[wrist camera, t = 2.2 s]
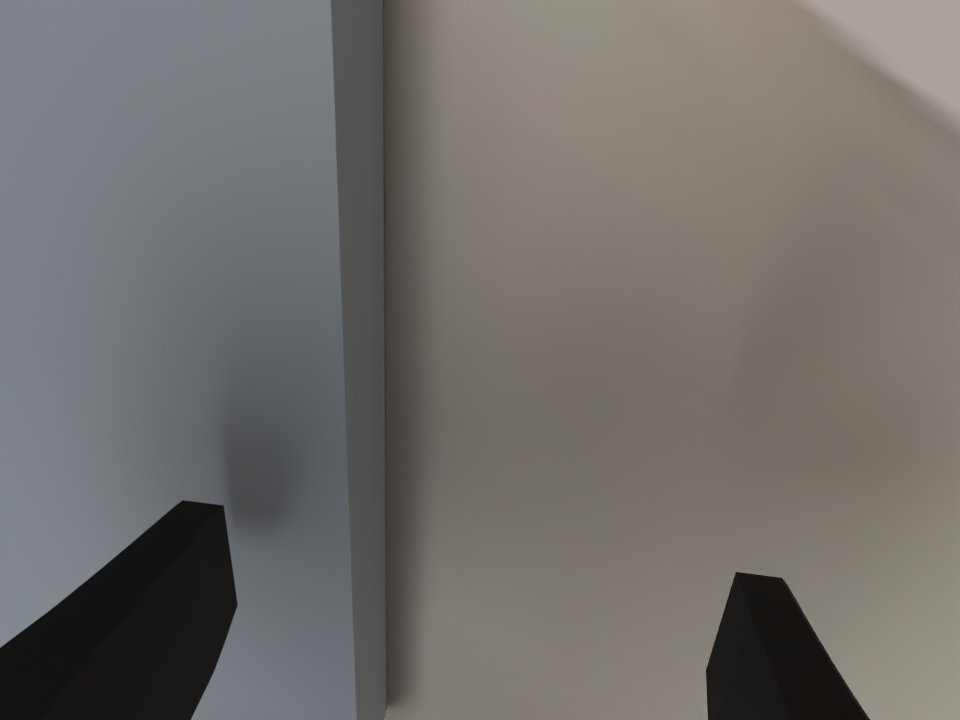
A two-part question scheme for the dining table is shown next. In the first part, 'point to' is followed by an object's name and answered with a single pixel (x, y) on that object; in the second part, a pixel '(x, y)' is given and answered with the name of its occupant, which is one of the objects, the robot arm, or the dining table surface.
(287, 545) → the board
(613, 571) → the dining table surface
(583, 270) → the dining table surface
